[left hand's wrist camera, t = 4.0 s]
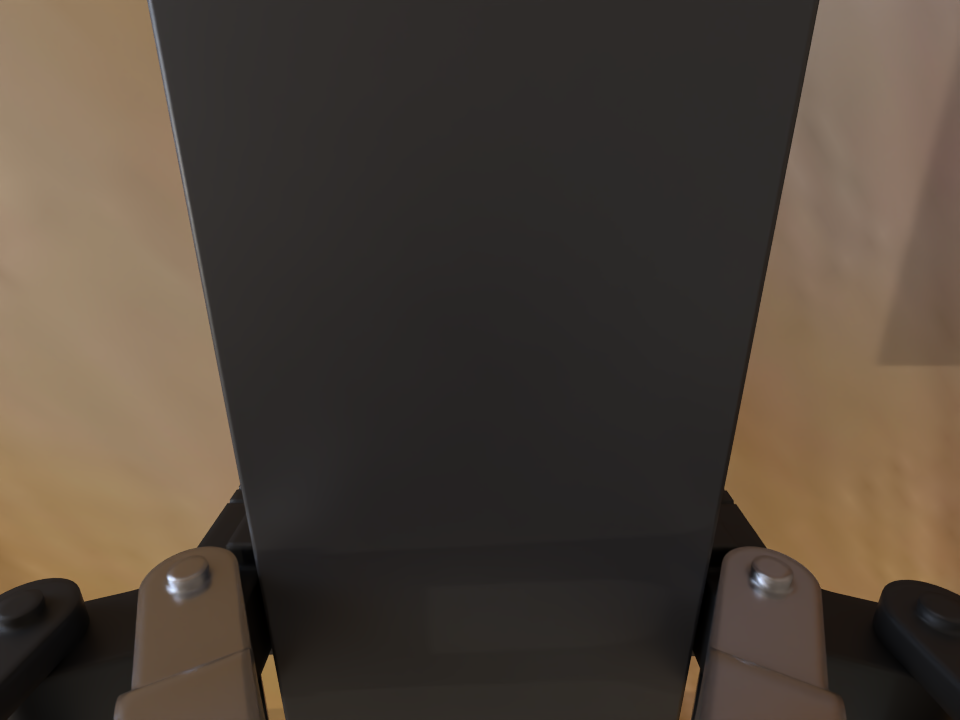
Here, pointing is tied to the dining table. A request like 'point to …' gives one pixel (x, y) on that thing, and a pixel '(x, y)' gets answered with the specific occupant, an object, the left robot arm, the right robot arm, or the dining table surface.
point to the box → (482, 328)
